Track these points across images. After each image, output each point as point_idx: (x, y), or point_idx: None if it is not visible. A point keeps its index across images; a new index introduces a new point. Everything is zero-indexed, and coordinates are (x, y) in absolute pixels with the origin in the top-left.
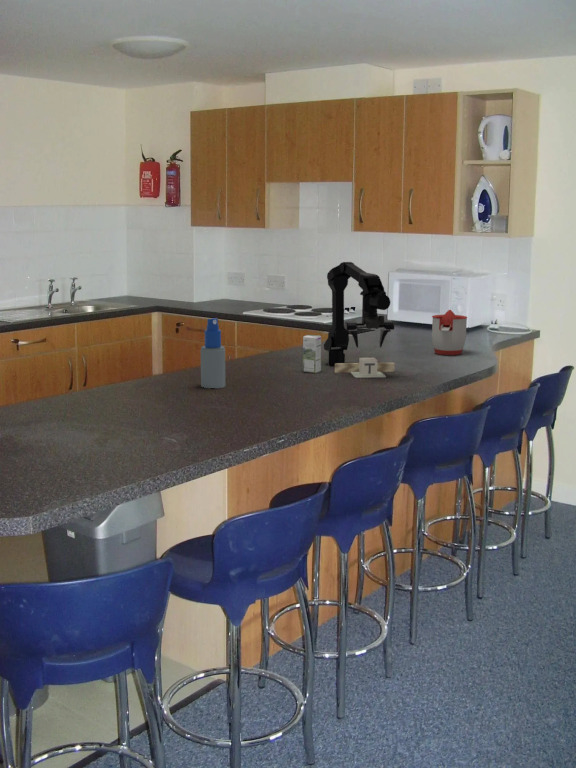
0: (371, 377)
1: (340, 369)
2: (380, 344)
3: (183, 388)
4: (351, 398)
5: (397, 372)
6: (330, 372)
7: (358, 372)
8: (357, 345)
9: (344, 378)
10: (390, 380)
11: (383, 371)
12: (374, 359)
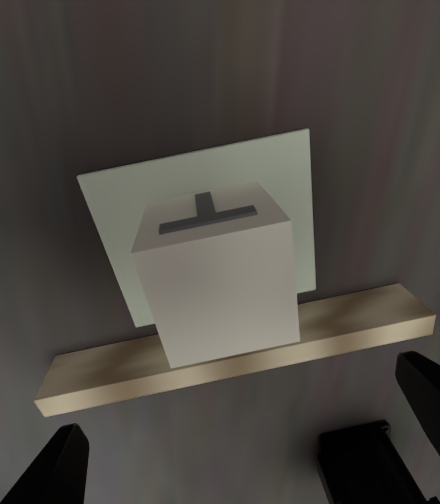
0: (186, 153)
1: (380, 300)
2: (55, 462)
3: None
4: None
5: (32, 343)
6: (423, 287)
7: None
8: (430, 372)
9: (388, 94)
10: (11, 32)
11: (119, 344)
12: (164, 290)
